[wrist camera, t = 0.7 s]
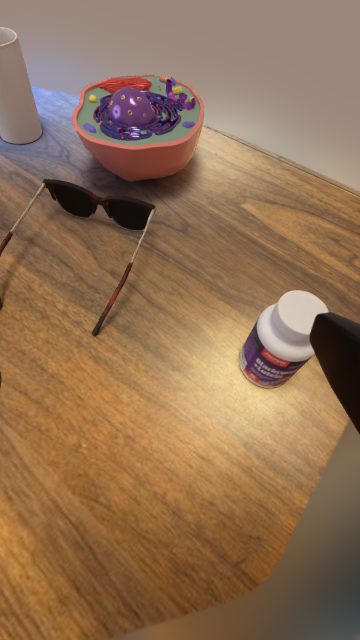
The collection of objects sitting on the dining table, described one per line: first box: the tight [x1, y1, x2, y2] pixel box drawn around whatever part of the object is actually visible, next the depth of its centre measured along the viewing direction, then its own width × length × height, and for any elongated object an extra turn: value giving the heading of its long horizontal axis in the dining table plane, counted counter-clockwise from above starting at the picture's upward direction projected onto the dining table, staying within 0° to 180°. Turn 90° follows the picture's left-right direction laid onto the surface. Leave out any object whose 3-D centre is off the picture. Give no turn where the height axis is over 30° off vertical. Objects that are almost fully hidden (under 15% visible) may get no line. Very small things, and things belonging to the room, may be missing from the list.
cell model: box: [72, 75, 204, 182], centre depth 43 cm, size 17×20×11 cm
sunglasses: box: [0, 179, 156, 335], centre depth 35 cm, size 14×16×5 cm
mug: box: [0, 27, 42, 144], centre depth 46 cm, size 10×7×12 cm, turn 29°
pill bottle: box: [239, 290, 328, 388], centre depth 28 cm, size 5×5×10 cm
